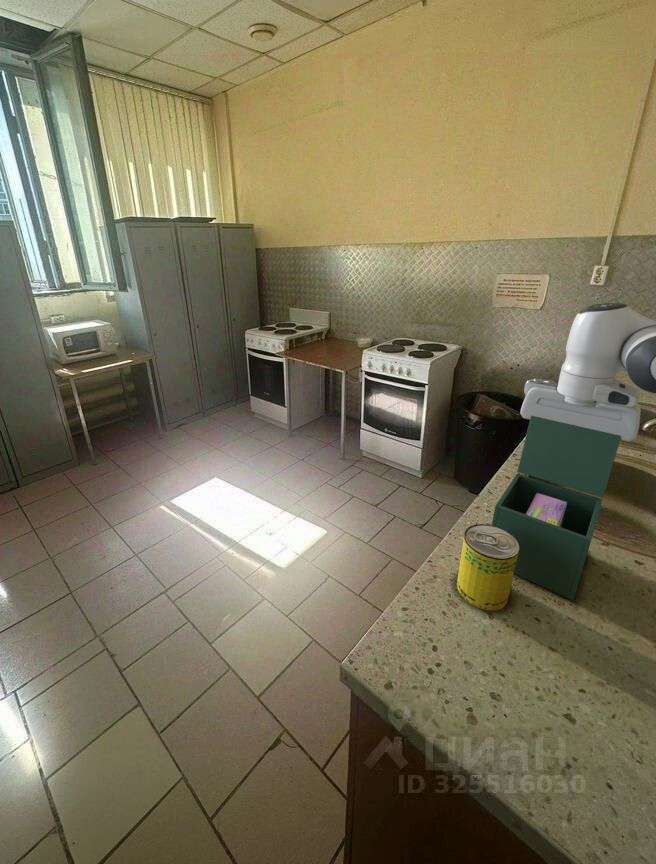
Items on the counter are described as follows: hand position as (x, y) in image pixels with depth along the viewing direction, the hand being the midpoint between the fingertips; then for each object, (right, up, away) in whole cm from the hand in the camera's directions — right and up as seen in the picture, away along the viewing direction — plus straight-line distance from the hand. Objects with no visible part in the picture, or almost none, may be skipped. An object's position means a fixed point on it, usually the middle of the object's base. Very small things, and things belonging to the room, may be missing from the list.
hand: (568, 446), depth 84 cm
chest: (-8, -23, -1) cm, 25 cm away
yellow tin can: (-23, -27, -9) cm, 36 cm away
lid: (-2, 0, -3) cm, 3 cm away
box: (-8, -23, -2) cm, 24 cm away
